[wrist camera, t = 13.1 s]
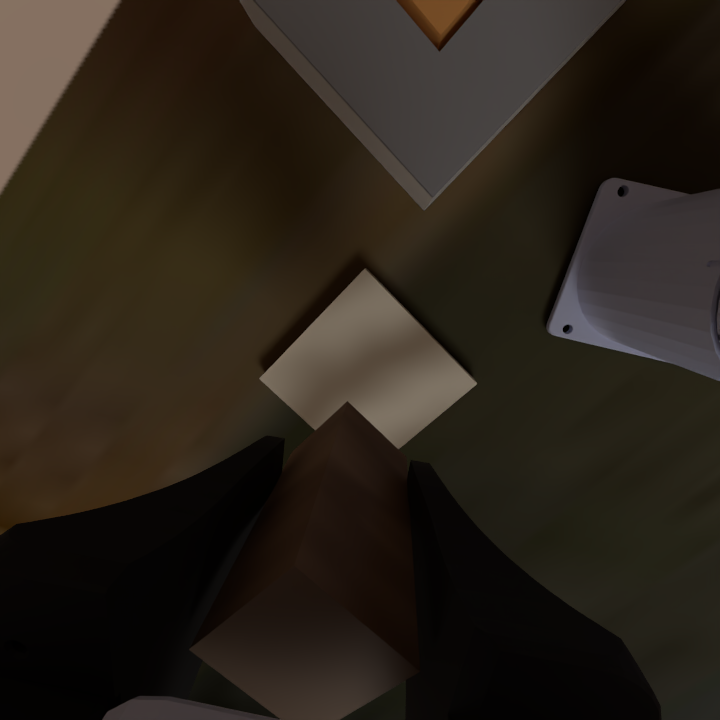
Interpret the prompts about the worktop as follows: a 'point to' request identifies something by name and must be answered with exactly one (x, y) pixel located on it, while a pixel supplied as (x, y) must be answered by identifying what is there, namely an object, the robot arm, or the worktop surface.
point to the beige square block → (369, 365)
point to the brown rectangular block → (322, 581)
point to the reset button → (439, 17)
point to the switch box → (426, 73)
